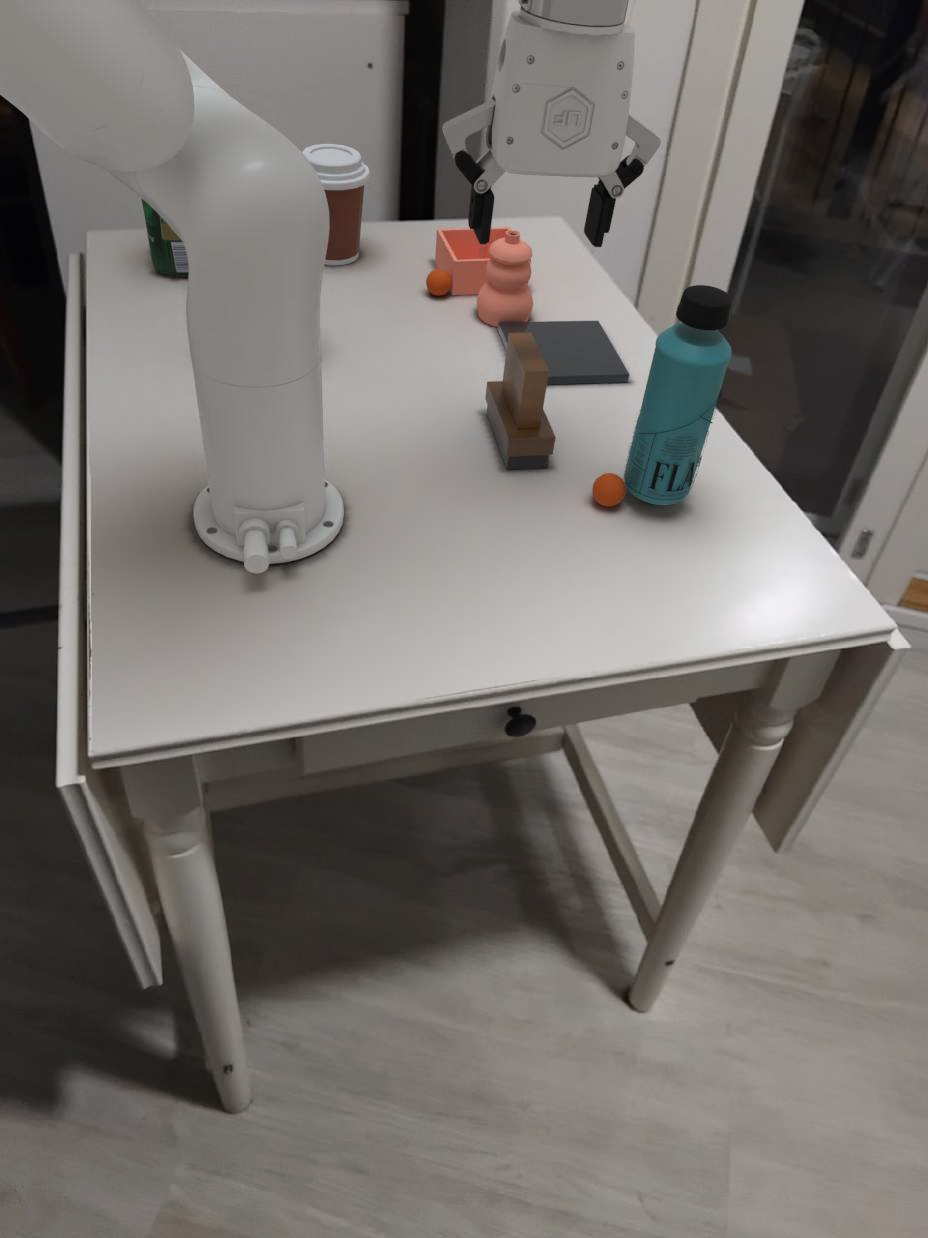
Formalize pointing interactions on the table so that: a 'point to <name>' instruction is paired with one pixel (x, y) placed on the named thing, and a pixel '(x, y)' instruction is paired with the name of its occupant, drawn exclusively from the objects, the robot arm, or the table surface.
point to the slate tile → (572, 351)
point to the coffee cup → (341, 197)
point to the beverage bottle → (680, 398)
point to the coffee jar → (165, 245)
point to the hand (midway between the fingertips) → (537, 238)
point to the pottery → (488, 271)
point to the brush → (521, 406)
